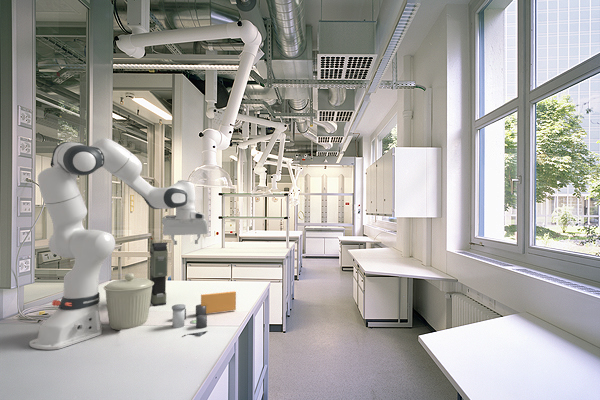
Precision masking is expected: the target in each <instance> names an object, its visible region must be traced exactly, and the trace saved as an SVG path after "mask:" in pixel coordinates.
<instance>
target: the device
mask: <svg viewBox="0 0 600 400" xmlns="http://www.w3.org/2000/svg"><path fill="white" fill-rule="evenodd" d="M167 245H168V242H152V243H150V248H149V256H150V262H149V263H150V264H149V266H150V267H149V269H150V271H149V272H150V274H149V275H150V276H149V277H150V278H149V280H151V281H153V282H154V285H153V286H152V293H151V301H150V305H151V306H152V307H159V306H166V305H167V292H166V291H167V290H166V287H167V286H166V285H167V283H166V278H167V277H168V262H169V261H168V258H169V256H168V254H169V252H168V247H169V246H167Z"/></svg>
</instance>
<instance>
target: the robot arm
mask: <svg viewBox="0 0 600 400" xmlns="http://www.w3.org/2000/svg"><path fill="white" fill-rule="evenodd" d="M52 151H53V152H52V156H51V160H50V167H48V168H46V169H44V170H42V171H40V172H39V173H38V175H37V183H38V187H39V191H40V195H41V197H42V200H43V203H44V204H45V207H46V209H47V211H48V214H49V217H50V219H51V223H52V228H53V229H52V231H53V233H52V235H51V236H50V238H49V240H48V249H49V251H50V252H51V253H52V254H54V255H56V256H59V257H61V258H65V259H74V263H73V265H72V266H73V267H72V268H71V269H70V270H69V271H68V272H66V274H65V275H64V277H63V296H62V297H61V300H58V299H53V300H52V302H51V305H52V306H53V307H57V308H58V309H57V310H56V311H54V313H52V314H51V315H50V316H49V317H48V318H47V319H46V320H45V321H44V322H43V323H42V324H40V327H39V329H38V332H37V333H38V334H37V338H34V339H32V340H30V341H29V347H31V348H33V349H37V350H44V351H45V350H49V351H51V350H59V349H63V348H66V347H68V346H71V345H75V344H78V343H81V342H83V341H87V340H90V339H92V338H95V337H99V336H101V335H102V333H103V332H102V331H103V330H104V329H103V325H102V322H101V316H100V310H99V309H100V308H99V303H100V298H101V297H100V292H99V282H100V281H99V280H100V273H101V269H102V266H103V265H104V262H105V261H106V260H107V258H108V257H110V255H112V253H113V252H114V251H115V248H116V240H115V237H114V235H113V234H112V233H110V232H108V231H104V230H100V229H86V228H85V227H84V225H83V220H84V219H85V217H86V216H87V214H88V209H87V206H86V203H85V200H84V198H83V196H82V193H81V191H80V189H79V186H78V181H77V178H78V177H79V176H89V175H92V174H93V173H95V172H96V171H98V170H99V169H100V168H102V169H104V170H106V171H107V172H109V173H110V174H112V175H113V176H114V177H116V178H118V179H119V180H120V181H122V182H123V183H124V184H126V185H127V186H128V187H129V188H130V189H132V190H133V191H134V192H136V193H137V194H138V195H140V197H142V199H143V200H144V201H145V203H146V205H148V207H149V208H151V209H152V210H162V209H165V210H166V209H168V210H169V209H175V215H165V216H163V217H162V219H161V224H162V225H163V226H162V227H163V228H162V234H163V236H170V238H171V240H172V242H173V246H177V245H178V240H175V236H188V235H189V236H191V235H197V239H194V244H195V245H198V244H199V240H200V238H201V235H208V233H209V228H208V227H209V226H208V222H207V219H206V214H205V213H203V212H202V213H201V212H199V211H196V188H195V185H194V183H193V182H191V181H188V180H181V179H180V180H177V182H176V183H174V184H172V185H171V186H170V185H169V186H168V187H156V186H153V185H151V184H150V183H149V182H147V180H146V179H144V178H143V177H142V176H141V173H142V171H143V164H142V162H141V160H140V159H139V158H138V156H136V155H135V154H133V153H132V152H131V151H130V150H128V149H127V148H126V147H124V146H122V145H121V144H120V143H117V142H116V141H115V140H112V139H111V138H107V137H102V138H100V139H97V140H96V141H95V142H94V143H93V144H91V145H85V144H83V143H79V142H75V141H64V142H61V143H60V144H57V145H56V146H55V148H54V149H53V150H52Z"/></svg>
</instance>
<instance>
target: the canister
mask: <svg viewBox="0 0 600 400" xmlns="http://www.w3.org/2000/svg"><path fill="white" fill-rule="evenodd" d="M153 285H154V282H153V281H151V280H150V278H145V277H144V278H143V277H136V276H135V274H134V273H133V272H128V273H126V274H125V275H124V278H121V279H117V280H112V281H110V282H109V283H107V284H105V285H104V286H103V287H102V288H103V290H104V291H105V299H106V311H107V315H108V316H107V318H108V324H109V326H110V327H111V329H113V330H116V331H121V330H127V329H133V328H137V327H140V326H142V325H144V324H145V323H146V322H147V321H148V319H149V315H150V314H149V313H150V308H151V307H150V305H151V302H150V301H151V293H152V286H153Z"/></svg>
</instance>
